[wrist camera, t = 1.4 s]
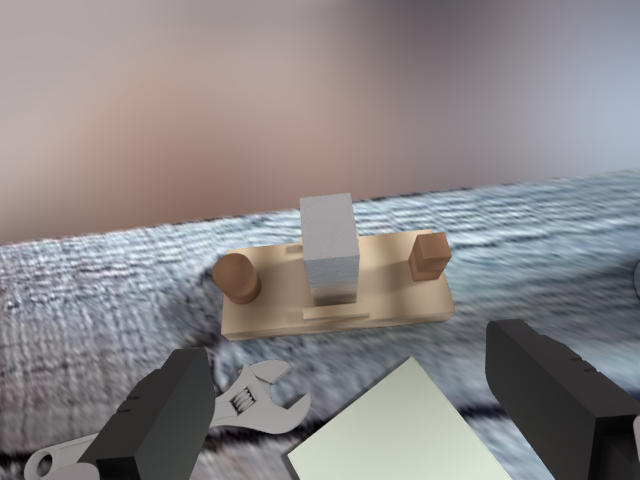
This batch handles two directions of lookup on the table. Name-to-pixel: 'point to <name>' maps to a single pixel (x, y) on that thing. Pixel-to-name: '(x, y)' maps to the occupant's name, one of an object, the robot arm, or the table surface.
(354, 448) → the mat
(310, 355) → the table surface
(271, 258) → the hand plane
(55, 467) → the adjustable wrench
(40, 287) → the table surface
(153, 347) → the table surface
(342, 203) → the grey block
